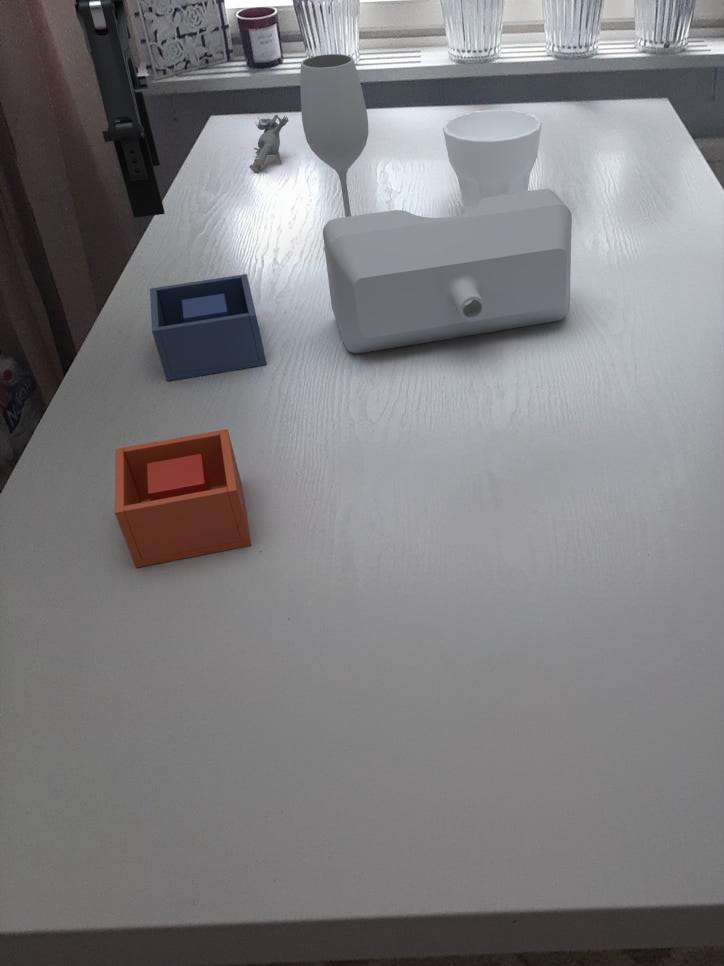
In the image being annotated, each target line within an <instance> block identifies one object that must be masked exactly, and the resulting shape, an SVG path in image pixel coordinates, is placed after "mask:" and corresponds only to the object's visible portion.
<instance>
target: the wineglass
mask: <svg viewBox="0 0 724 966" xmlns="http://www.w3.org/2000/svg"><path fill="white" fill-rule="evenodd" d="M299 74H300V78H299V79H300V81H299V83H300V88H299V89H300V91H299V92H300V111H301V122H302V128H303V129H302V130H303V132H304V136H305V140H306V143H307V144H308V146H309V148H310V150H311V151H312V152H313V154H314V155H316V156H317V158H318V159H320V161H322V162H323V163H325V164H326V165H327V166H329V167H330V168H331V169H333V170H334V171H335V172H336V174H337V175H338V179H339V182H340V188H341V195H342V202H343V208H344V217H349V216H352V213H351V205H350V197H349V191H348V183H347V179H348V177H347V175H348V171H349V169H350V168H351V167H352V166H353V165H354V163H355V162H356V161H357V160H358V159H359V158H360V156H361V154H362V153H363V151H364V149H365V148H366V146H367V142H368V137H369V118H368V116H369V115H368V111H367V106H366V102H365V97H364V93H363V92H364V91H363V88H362V85H361V81H360V77H359V73H358V69H357V67H356V64H355V61H354V58H353V56H351V55H347V54H341V53H328V54H327V53H326V54H319V55H314V56H310V57H307V58H305V59H303V60H301V62H300V73H299ZM323 251H324V252H325V247H324V246H323Z"/></svg>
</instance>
